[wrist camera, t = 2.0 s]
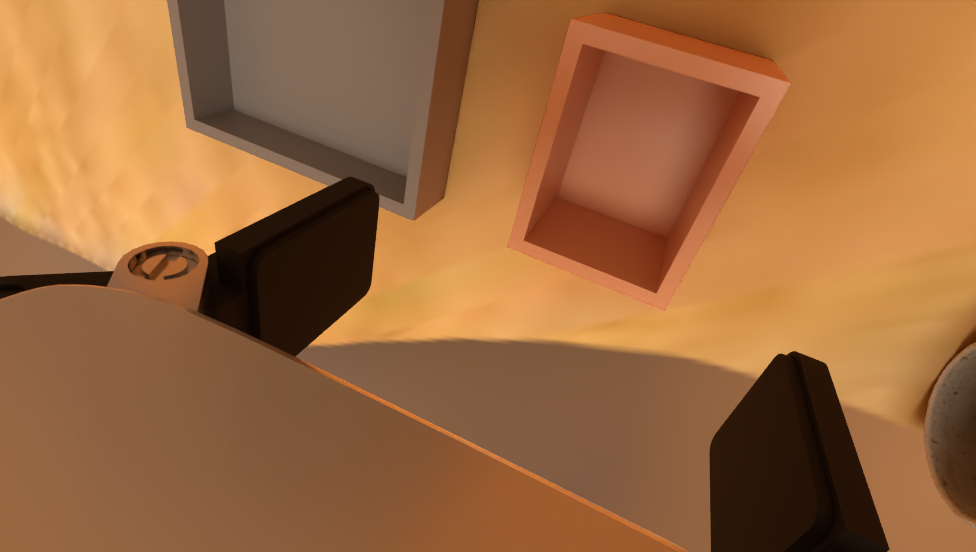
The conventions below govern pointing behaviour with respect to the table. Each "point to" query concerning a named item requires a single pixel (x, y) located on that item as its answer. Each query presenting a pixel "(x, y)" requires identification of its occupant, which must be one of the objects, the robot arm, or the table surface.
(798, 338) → the table surface
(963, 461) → the ceramic mug
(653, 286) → the crate small
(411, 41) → the tray
